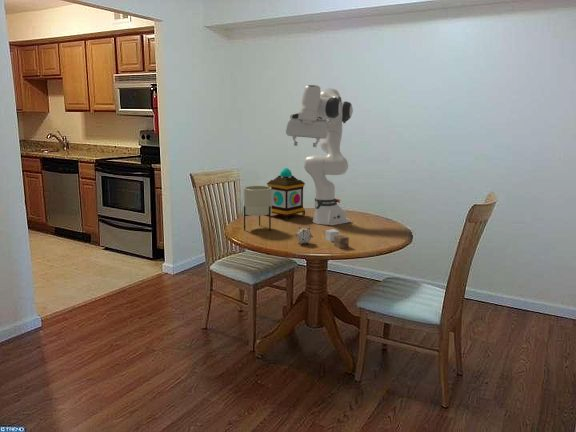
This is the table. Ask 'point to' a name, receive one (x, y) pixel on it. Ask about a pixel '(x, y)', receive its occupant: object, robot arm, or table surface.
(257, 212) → the planter
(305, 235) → the game die
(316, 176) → the robot arm
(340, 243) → the walnut block
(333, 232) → the grey block
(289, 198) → the decorative lantern
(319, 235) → the table surface
